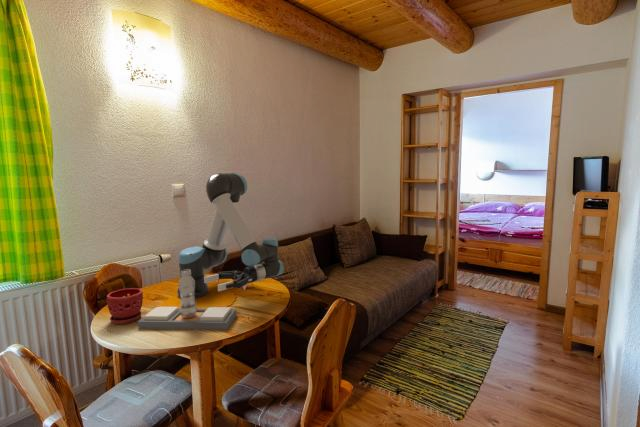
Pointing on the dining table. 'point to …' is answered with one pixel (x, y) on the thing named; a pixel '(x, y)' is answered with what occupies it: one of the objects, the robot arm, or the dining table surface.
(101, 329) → the dining table surface
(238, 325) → the dining table surface
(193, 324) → the keypad frame
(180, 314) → the orange key
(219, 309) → the pale key
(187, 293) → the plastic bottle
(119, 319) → the plant pot
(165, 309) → the pale key
